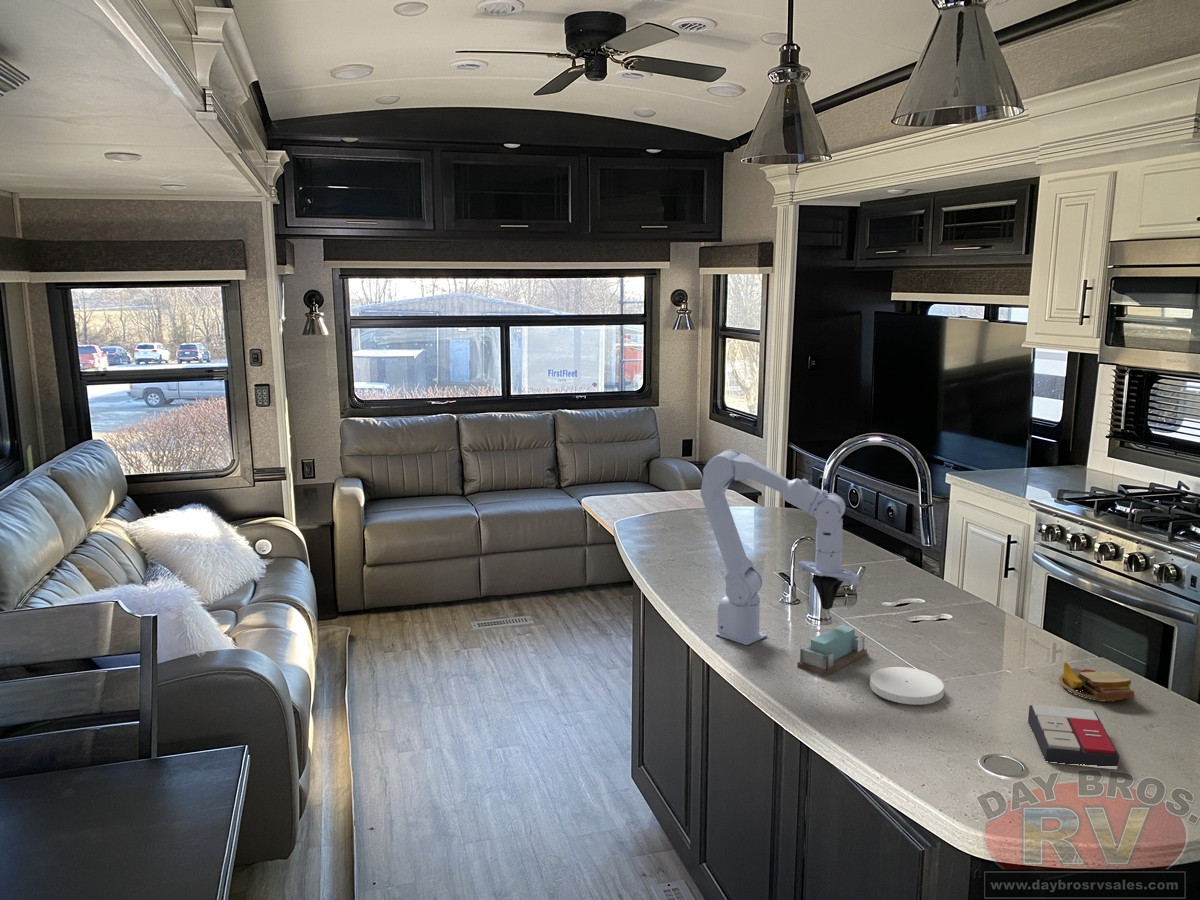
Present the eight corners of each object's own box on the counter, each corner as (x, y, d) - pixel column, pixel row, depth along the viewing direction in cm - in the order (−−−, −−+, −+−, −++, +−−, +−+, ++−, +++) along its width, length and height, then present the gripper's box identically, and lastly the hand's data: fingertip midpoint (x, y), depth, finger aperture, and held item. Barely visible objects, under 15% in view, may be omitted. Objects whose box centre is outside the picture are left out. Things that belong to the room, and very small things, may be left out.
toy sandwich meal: (1114, 678, 182) (1116, 656, 181) (1143, 708, 169) (1145, 685, 168) (1049, 675, 184) (1051, 653, 183) (1073, 705, 171) (1075, 682, 170)
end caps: (800, 661, 190) (800, 648, 190) (838, 641, 200) (839, 629, 200) (825, 670, 185) (826, 657, 185) (864, 649, 196) (864, 636, 195)
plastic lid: (875, 707, 171) (876, 695, 171) (864, 677, 185) (865, 665, 185) (951, 711, 169) (951, 698, 169) (934, 679, 183) (934, 668, 183)
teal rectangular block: (810, 661, 190) (810, 639, 189) (840, 645, 198) (841, 624, 197) (824, 666, 188) (824, 644, 187) (854, 649, 196) (855, 628, 195)
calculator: (1047, 745, 149) (1029, 700, 163) (1045, 767, 150) (1027, 721, 164) (1120, 752, 146) (1095, 706, 161) (1118, 775, 147) (1093, 728, 162)
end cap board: (797, 666, 190) (797, 662, 190) (839, 644, 201) (839, 640, 201) (825, 676, 185) (825, 671, 185) (866, 653, 196) (866, 649, 196)
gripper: (790, 546, 197) (789, 604, 200) (847, 560, 187) (845, 621, 189) (809, 540, 202) (807, 596, 204) (865, 553, 191) (863, 612, 194)
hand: (827, 607), depth 197 cm, fingers closed
